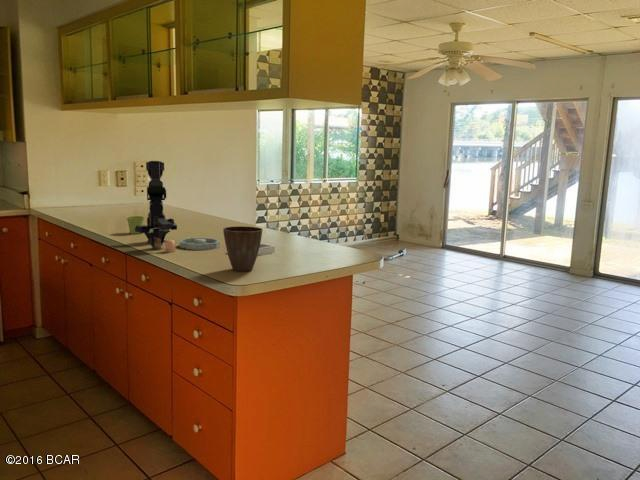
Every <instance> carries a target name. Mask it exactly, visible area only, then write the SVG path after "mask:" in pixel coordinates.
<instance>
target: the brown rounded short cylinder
mask: <svg viewBox="0 0 640 480" xmlns="http://www.w3.org/2000/svg"><path fill="white" fill-rule="evenodd" d="M151 249H152V250H161V249H162V246H161V237H154V247H152V246H151Z"/></svg>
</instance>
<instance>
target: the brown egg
mask: <svg viewBox="0 0 640 480" xmlns="http://www.w3.org/2000/svg"><path fill="white" fill-rule="evenodd" d="M164 240H165V239H164ZM175 243H176V242H175V240H174V239H166V240H165V242H164V244H165V246H164V247H165V248H164V249H165V251H164V252H165V253H168V254H169V253H175V251H176V247H175Z"/></svg>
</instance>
